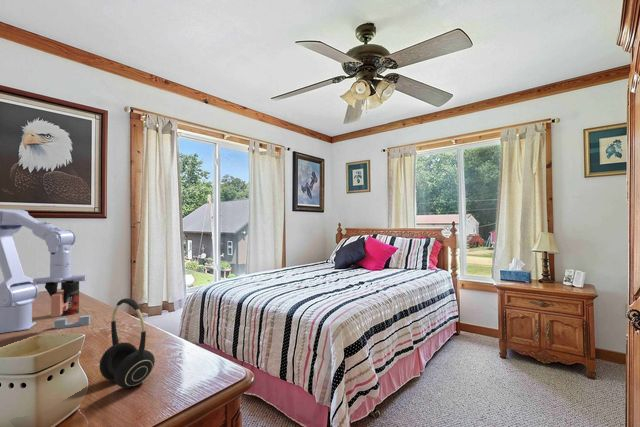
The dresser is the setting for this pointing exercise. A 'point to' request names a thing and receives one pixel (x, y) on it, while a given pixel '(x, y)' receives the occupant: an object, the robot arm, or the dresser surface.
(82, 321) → the grey block
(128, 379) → the headphones
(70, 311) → the deodorant
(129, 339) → the dresser surface
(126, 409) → the dresser surface
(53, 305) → the pink rectangular block
